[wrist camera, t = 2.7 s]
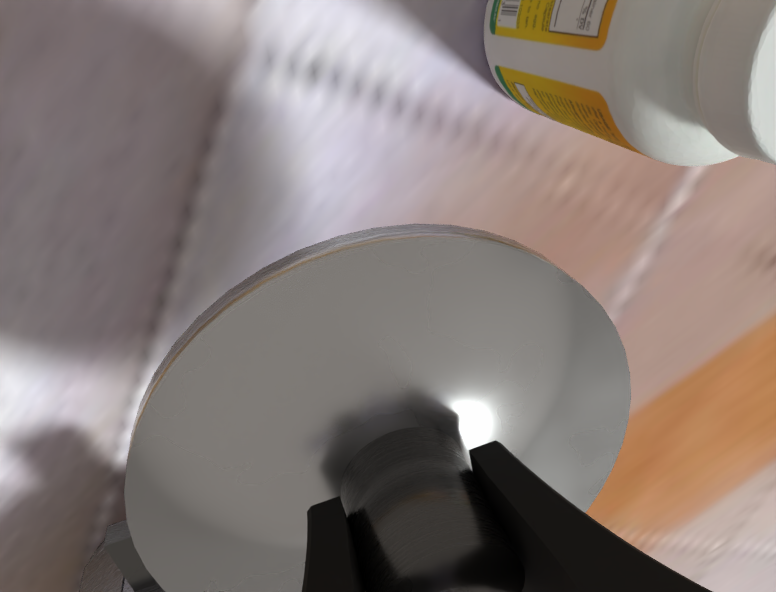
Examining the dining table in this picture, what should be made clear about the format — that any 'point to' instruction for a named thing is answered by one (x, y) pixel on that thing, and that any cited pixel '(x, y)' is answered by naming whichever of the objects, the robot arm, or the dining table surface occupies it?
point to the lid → (373, 412)
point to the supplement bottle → (644, 72)
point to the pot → (117, 565)
